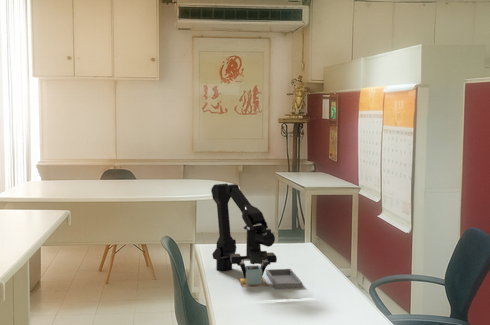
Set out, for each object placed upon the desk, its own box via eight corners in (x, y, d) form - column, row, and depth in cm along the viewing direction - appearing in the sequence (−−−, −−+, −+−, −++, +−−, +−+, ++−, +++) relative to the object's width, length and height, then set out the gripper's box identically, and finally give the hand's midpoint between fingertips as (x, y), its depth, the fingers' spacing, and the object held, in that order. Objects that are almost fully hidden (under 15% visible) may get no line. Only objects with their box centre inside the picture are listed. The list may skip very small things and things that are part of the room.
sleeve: (241, 285, 202) (241, 270, 201) (239, 280, 208) (239, 266, 207) (262, 284, 203) (262, 269, 202) (259, 279, 209) (259, 265, 209)
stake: (241, 289, 199) (242, 271, 199) (237, 280, 210) (238, 263, 209) (268, 288, 201) (268, 270, 200) (263, 279, 212) (263, 262, 211)
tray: (275, 291, 198) (275, 284, 197) (265, 276, 216) (266, 269, 216) (302, 290, 199) (302, 282, 199) (290, 275, 218) (290, 268, 218)
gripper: (233, 247, 195) (233, 285, 196) (280, 245, 198) (279, 283, 199) (229, 240, 206) (229, 277, 207) (274, 239, 209) (273, 275, 210)
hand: (252, 278), depth 205 cm, fingers closed on sleeve, 6 cm apart
